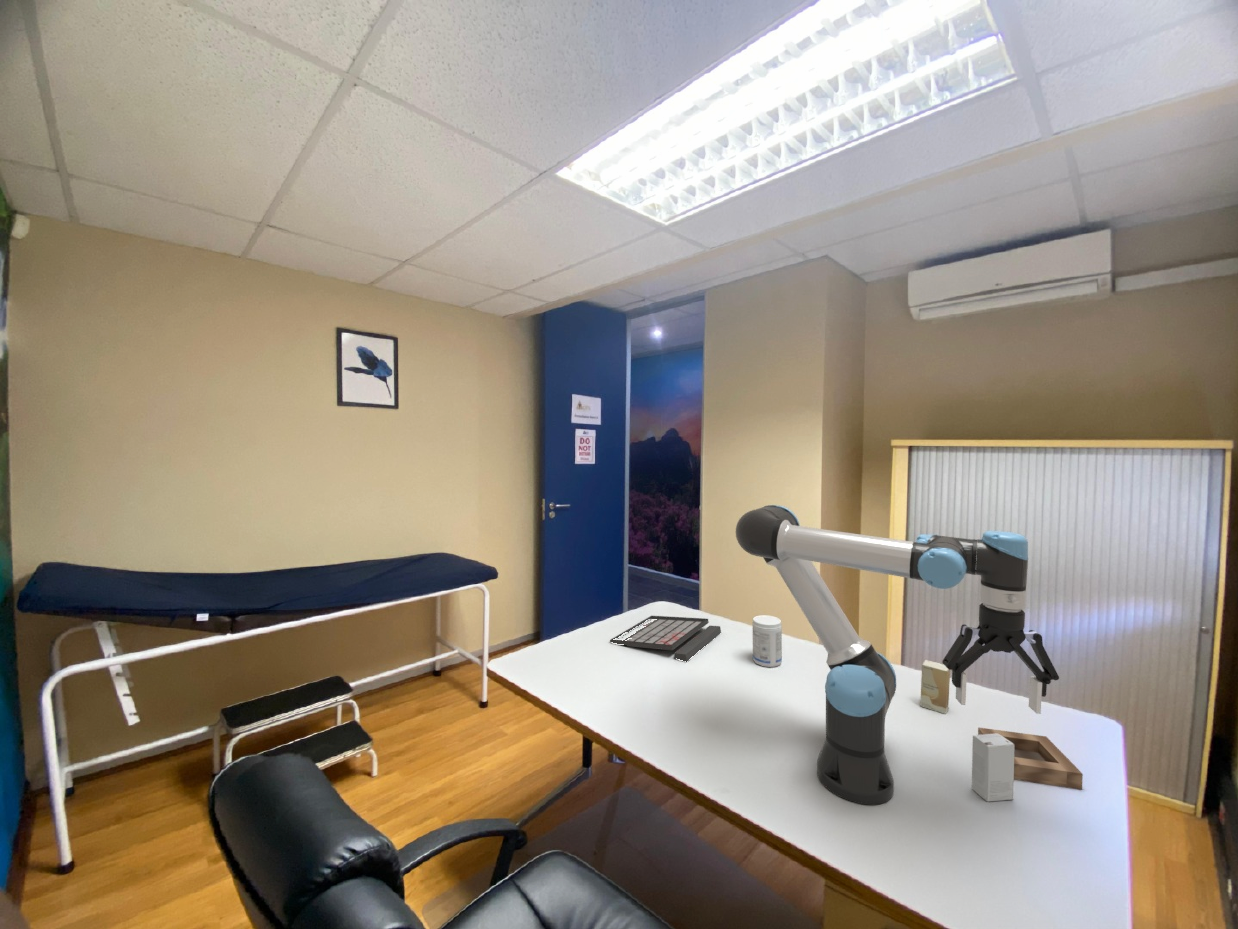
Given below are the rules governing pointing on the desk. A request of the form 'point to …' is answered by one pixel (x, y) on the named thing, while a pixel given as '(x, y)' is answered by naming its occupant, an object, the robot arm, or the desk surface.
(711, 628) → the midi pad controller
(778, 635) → the supplement tub
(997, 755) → the skincare box
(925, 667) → the skincare box
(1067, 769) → the socket block
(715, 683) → the desk surface
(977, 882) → the desk surface
